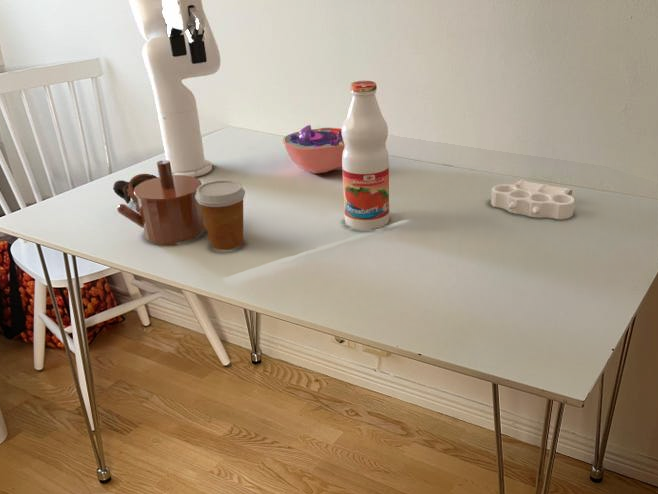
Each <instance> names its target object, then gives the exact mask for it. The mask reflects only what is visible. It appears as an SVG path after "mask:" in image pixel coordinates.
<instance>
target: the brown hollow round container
mask: <svg viewBox="0 0 658 494" xmlns="http://www.w3.org/2000/svg"><path fill="white" fill-rule="evenodd" d="M195 195H196V193H195V194H193V195H191V196H188V197H185V198H181V199H177V200H171V201H147V200H142V199H140V198H138V197H137V199H138V204H139V208H140V212H139V214H140V215H141V218H142V222H143V227H144V228H143V231H144V236H145V239H146V240H147V242H149V243H151V244H154V245H158V246H177V245H178V243H182V242H186V241H190V240H193V239H197V238H199V237H200V236H202V235H203V234H204V233H205V232H207V229H206V226H205V222H204V219H203V216H202V212H201V209H200V205H199V203H198V201H197V200H196V198H195Z"/></svg>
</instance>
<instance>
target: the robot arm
mask: <svg viewBox="0 0 658 494" xmlns="http://www.w3.org/2000/svg"><path fill="white" fill-rule="evenodd" d="M128 3H129V5H130V7H131V11H132V13H133V16H134V20H135V23H136V24H137V27H138V29H139V32H140V34H141V36H142V38H143V39H144V40H145V41H146V42H145V43H144V45H143V47H142V59H143V62H144V66H145V68H146V71H147V74H148V78H149V81H150V83H151V88H152V91H153V97H154V101H155V106H156V111H157V116H158V121H159V128H160V134H161V138H162V144H163V149H164V154H165V155H164V156H165V160H168V161H170V164H171V170H172V175H182V176H191V177H194V178H197V177H201V176H204V175H206V174H208V173H210V172H211V171H212V170H213V163H212V162H211V160H208V159H205V152H204V145H203V138H202V130H201V124H200V118H199V112H198V106H197V100H196V97H195V94H194V93H193V92H192V91H191V89H190V88H189V87H187V85H185V84H184V83H183V80H186V79H192V78H198V77H199V78H200V77H207V76H211V75H214V74H216V73H217V72H218V71H219V70H220V68H221V55H220V50H219V47H218V44H217V41H216V39H215V36H214V32H213V31H212V29H211V26H210V24H209V21H208V17H207V15H206V13H205V11H204V7H203V2H202V0H128Z"/></svg>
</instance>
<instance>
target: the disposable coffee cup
mask: <svg viewBox="0 0 658 494" xmlns="http://www.w3.org/2000/svg"><path fill="white" fill-rule="evenodd" d="M245 195H246V190H245V189H244V187H243V186H242V183H240V182H239V181H236V180H230V179H217V180H212V181H207V182H204V183H202V185H200V186H199V187H198V188H197V192H196V195H195V198H196V200H197V201H198V203H199V205H200V209H201V212H202V216H203V219H204V222H205V226H206V232H207V236H208V239H209V242H210V245H211V247H212V248H213V249H216V250H220V251H228V250H233V249H236V248H239V247H241V246H242V245H243V244H244V198H245Z"/></svg>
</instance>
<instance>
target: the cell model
mask: <svg viewBox="0 0 658 494" xmlns="http://www.w3.org/2000/svg"><path fill="white" fill-rule="evenodd" d="M282 143H283V145H284V147H285V149H286V152H287V154H288V156H289V158H290V159H291V160H292V161H293V163H294V164H295V165H296V167H298V168H300V169H301V170H304V171H306V172H307V173H311V174H314V175H316V174H323V173H328V172H332V171H341V170H342V154H343V150H344V147H345V146H344V141H343V138H342V128H340V127H339V128H338V127H320V128H313V129H312V125H311V124H308V125H306V126H304V127H303V128H301V129H300V130H299V131H296V132H293V133H290V134H287V135H285V136H284V137H283V138H282Z"/></svg>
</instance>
